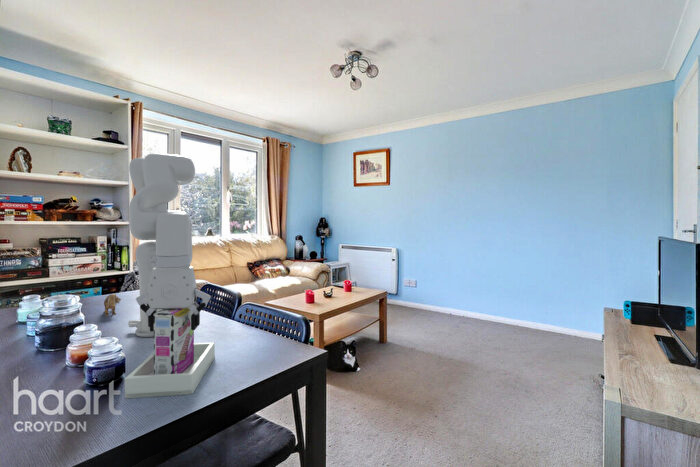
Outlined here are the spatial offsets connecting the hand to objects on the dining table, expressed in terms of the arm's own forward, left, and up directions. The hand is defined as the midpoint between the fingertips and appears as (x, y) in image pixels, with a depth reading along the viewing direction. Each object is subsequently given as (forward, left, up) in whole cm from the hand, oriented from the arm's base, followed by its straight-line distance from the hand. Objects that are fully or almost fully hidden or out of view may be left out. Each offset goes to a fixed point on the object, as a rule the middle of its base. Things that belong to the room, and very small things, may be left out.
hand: (174, 329), depth 85 cm
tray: (0, 0, -12) cm, 12 cm away
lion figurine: (-47, +62, -12) cm, 78 cm away
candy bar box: (0, 0, -11) cm, 11 cm away
